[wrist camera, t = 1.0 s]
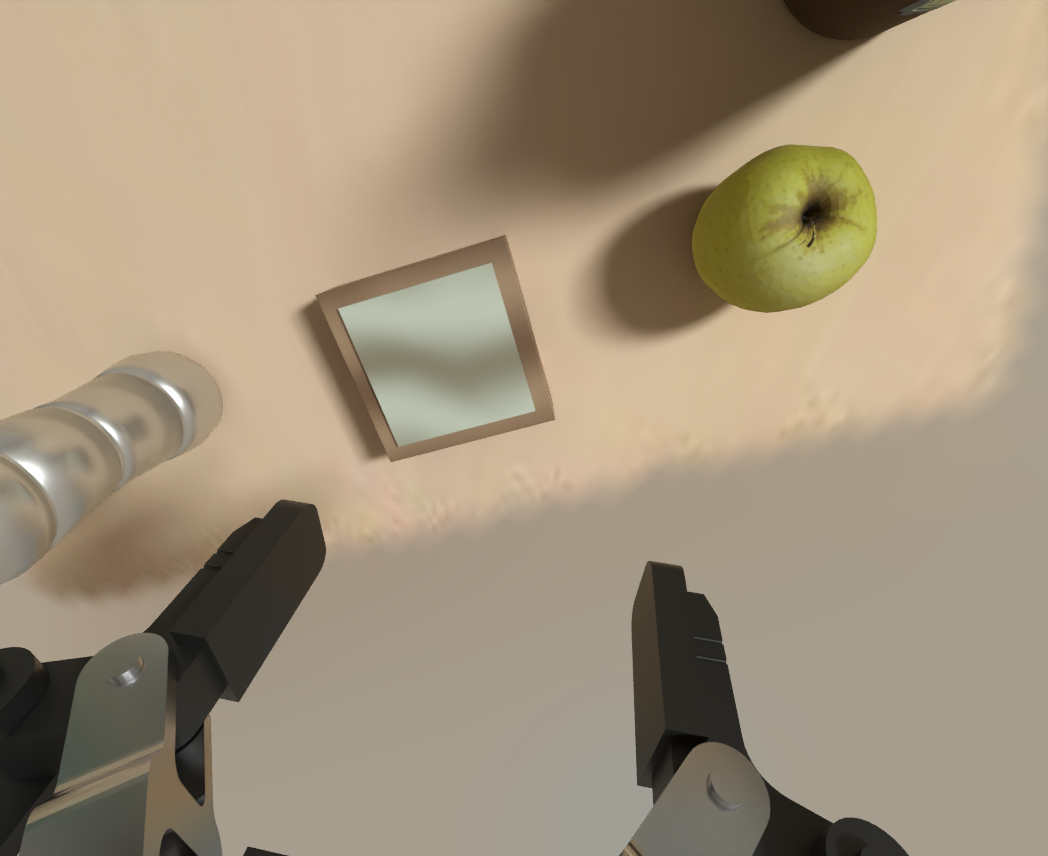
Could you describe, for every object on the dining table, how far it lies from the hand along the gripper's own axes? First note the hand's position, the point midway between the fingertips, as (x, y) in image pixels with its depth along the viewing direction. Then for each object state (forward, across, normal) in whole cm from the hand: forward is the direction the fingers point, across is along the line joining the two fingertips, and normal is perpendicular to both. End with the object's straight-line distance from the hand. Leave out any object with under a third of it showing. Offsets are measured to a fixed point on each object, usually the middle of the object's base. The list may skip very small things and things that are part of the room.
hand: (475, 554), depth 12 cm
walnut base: (+20, +6, +5) cm, 22 cm away
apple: (+24, -10, -4) cm, 27 cm away
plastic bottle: (+17, +24, +9) cm, 31 cm away
